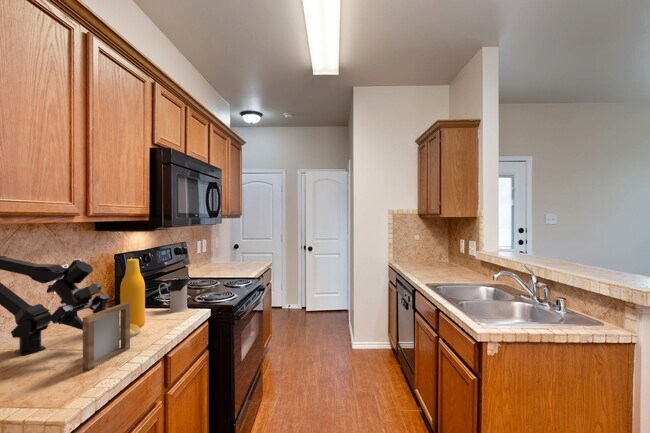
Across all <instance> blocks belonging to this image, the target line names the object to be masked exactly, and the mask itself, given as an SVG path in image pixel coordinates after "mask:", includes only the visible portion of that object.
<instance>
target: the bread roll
mask: <svg viewBox="0 0 650 433" xmlns="http://www.w3.org/2000/svg"><path fill="white" fill-rule="evenodd" d="M140 328H141V327H140ZM140 328H139V327H138V326H137V325H135V324H130V338H132V337H134V336H137V335H139V334H140V333H141V329H140ZM119 340H121V327H120V326H119Z"/></svg>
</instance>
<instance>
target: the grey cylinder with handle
mask: <svg viewBox="0 0 650 433" xmlns="http://www.w3.org/2000/svg"><path fill="white" fill-rule="evenodd" d="M161 285H165V286H166V291H167V292H169V301H168V300H167V299H165V298H164V297H163V295H162V293H161V289H160V287H161ZM158 292H159V296H160V297H161V298H162V300H163V301H165V302H167V304H168V305H169V310H168V311H169V312H170V313H180V312H181V313H182V312H185V311H187V310H189V307H188V282H187V279H186V278H179V279H178V278H176V279H171V280H170V290H169V286H168V284H167V283H166V282H162V283H160V284H159V286H158Z"/></svg>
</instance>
